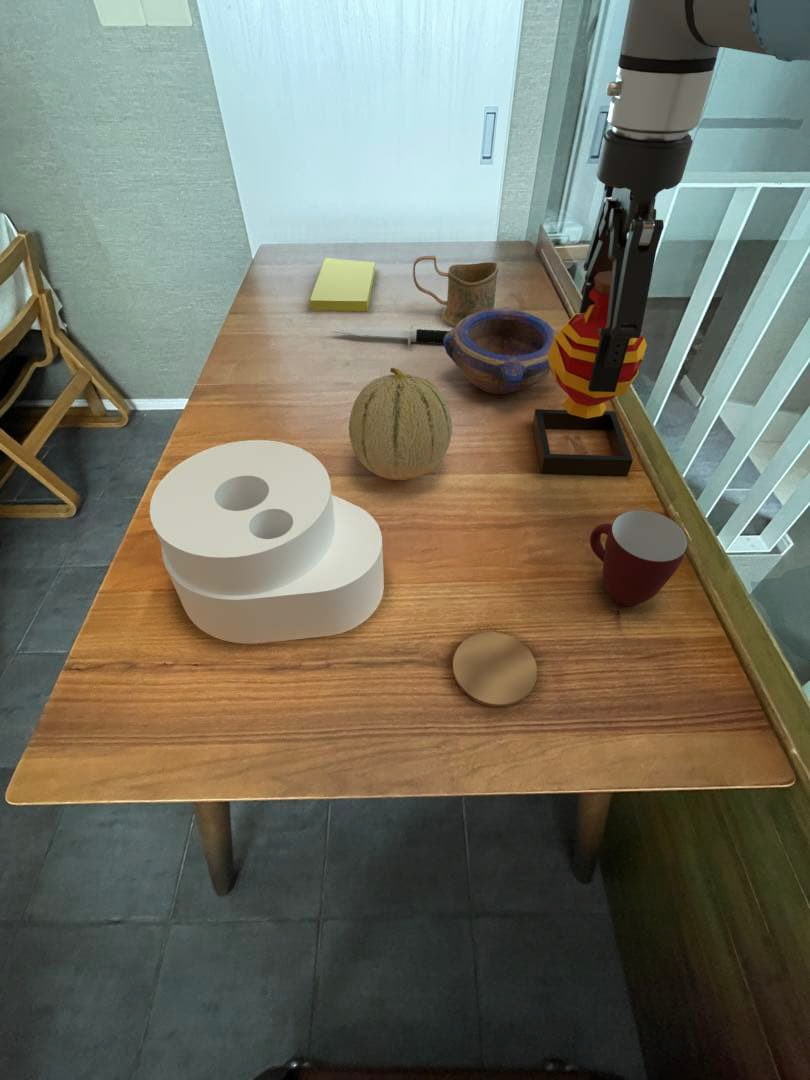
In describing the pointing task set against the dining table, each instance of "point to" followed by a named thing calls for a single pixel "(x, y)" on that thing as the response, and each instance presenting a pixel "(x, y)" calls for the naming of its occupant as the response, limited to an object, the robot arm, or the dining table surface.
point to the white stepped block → (266, 545)
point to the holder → (581, 463)
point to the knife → (400, 334)
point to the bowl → (501, 349)
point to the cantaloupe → (400, 426)
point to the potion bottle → (590, 355)
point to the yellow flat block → (343, 286)
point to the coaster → (494, 669)
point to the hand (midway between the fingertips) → (592, 364)
